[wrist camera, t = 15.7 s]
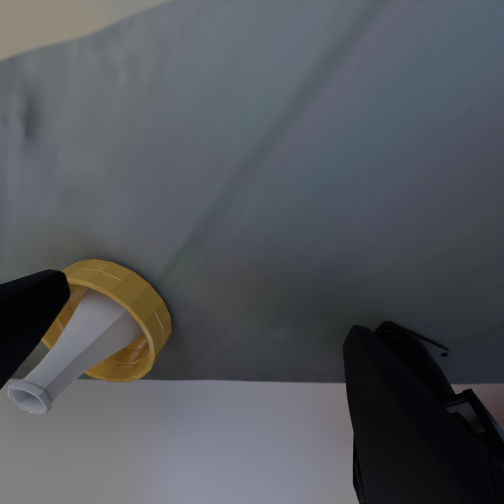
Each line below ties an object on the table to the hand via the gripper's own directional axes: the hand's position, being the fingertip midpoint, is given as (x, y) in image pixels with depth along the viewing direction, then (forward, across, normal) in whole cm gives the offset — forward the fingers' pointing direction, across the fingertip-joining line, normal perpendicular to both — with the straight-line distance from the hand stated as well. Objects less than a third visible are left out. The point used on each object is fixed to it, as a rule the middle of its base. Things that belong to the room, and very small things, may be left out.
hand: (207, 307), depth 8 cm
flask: (+13, +12, +16) cm, 24 cm away
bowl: (+13, +13, +16) cm, 24 cm away
